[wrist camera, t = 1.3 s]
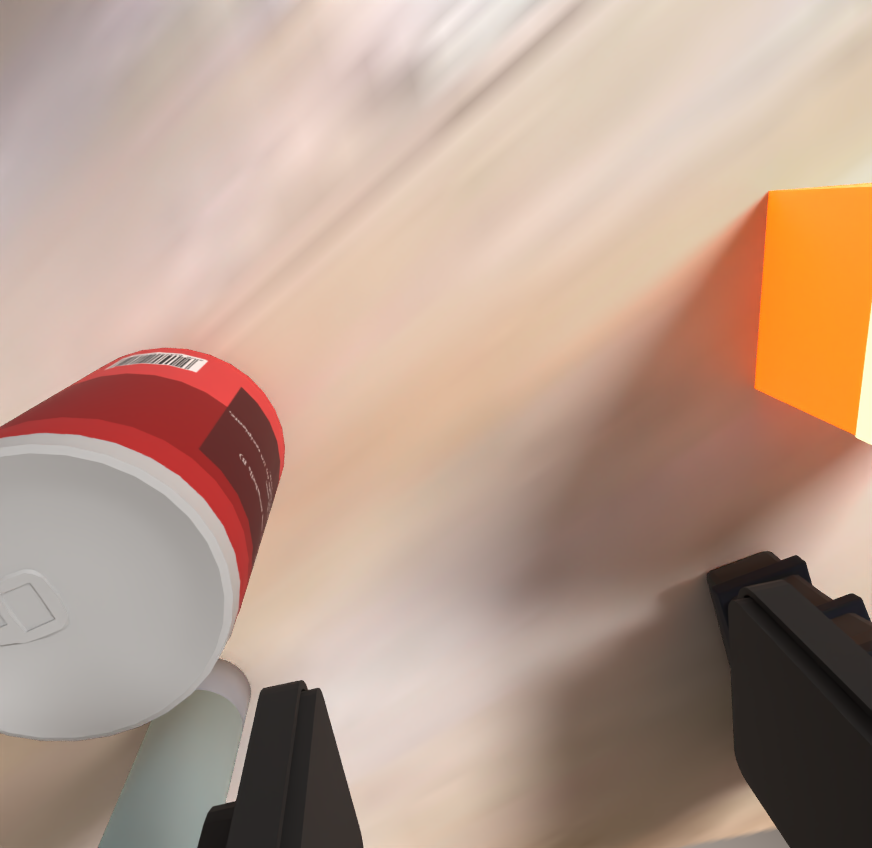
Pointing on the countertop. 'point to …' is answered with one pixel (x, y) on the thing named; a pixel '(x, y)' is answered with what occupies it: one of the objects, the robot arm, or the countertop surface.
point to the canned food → (128, 539)
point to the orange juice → (819, 304)
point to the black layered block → (794, 571)
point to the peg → (182, 766)
